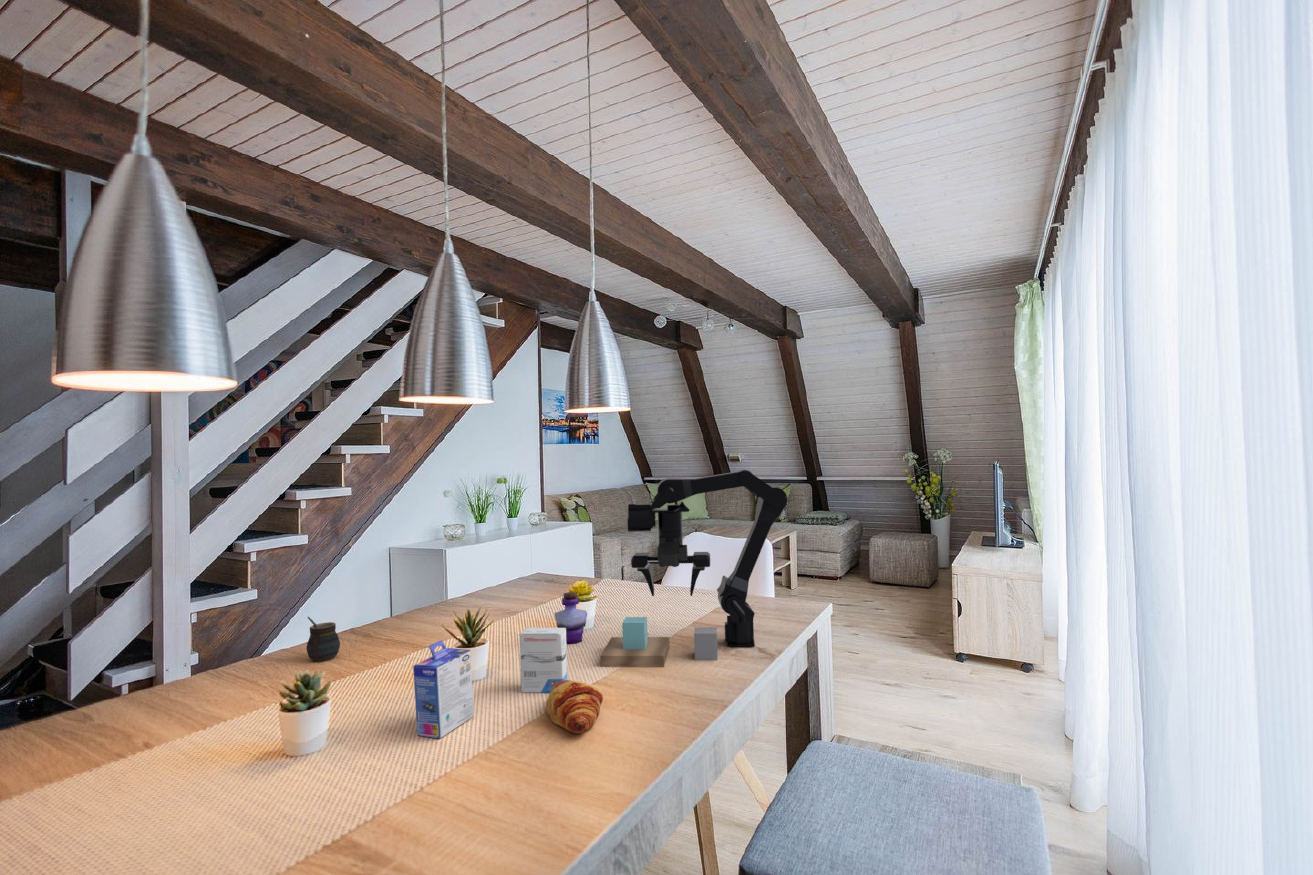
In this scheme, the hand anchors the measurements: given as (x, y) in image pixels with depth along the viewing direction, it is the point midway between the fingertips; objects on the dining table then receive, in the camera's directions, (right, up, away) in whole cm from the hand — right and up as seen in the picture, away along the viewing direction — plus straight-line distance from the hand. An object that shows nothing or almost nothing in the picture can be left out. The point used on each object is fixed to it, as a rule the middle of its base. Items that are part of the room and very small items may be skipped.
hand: (672, 595), depth 158 cm
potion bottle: (-25, -13, +6) cm, 29 cm away
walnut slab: (-8, -13, -7) cm, 17 cm away
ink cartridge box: (-41, -13, -42) cm, 60 cm away
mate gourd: (-83, -15, -2) cm, 85 cm away
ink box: (-26, -13, -26) cm, 39 cm away
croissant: (-18, -13, -39) cm, 45 cm away
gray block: (+8, -12, -9) cm, 17 cm away
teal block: (-9, -10, -7) cm, 15 cm away
